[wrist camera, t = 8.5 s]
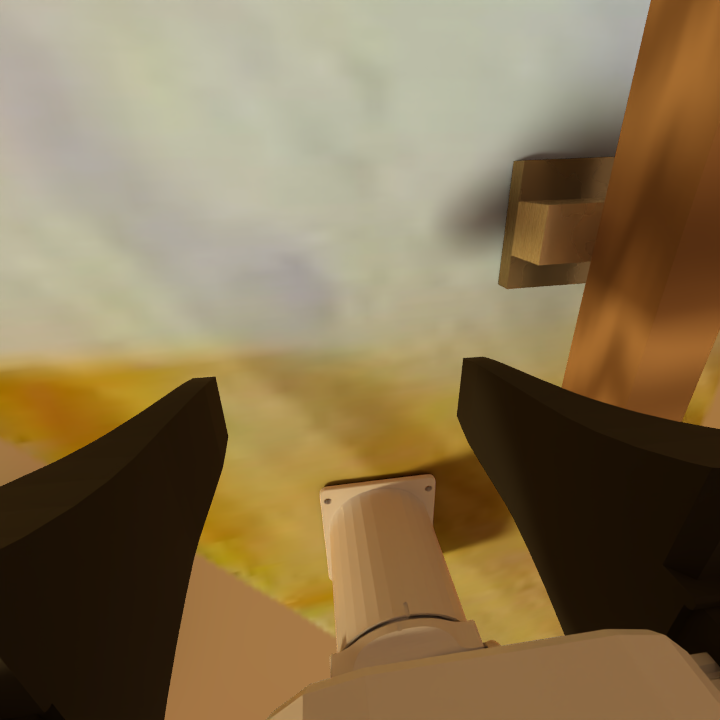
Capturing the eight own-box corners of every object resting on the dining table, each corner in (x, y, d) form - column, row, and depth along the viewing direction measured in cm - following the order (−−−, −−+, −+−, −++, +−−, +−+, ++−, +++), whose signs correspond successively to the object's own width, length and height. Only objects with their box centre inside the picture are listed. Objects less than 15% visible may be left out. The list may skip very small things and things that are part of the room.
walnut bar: (613, 382, 20) (679, 426, 17) (561, 387, 20) (617, 433, 16) (732, -15, 13) (891, -87, 10) (654, -15, 13) (788, -89, 9)
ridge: (631, 274, 21) (686, 290, 18) (498, 284, 21) (532, 303, 17) (665, 155, 19) (737, 150, 16) (513, 161, 18) (557, 157, 15)
